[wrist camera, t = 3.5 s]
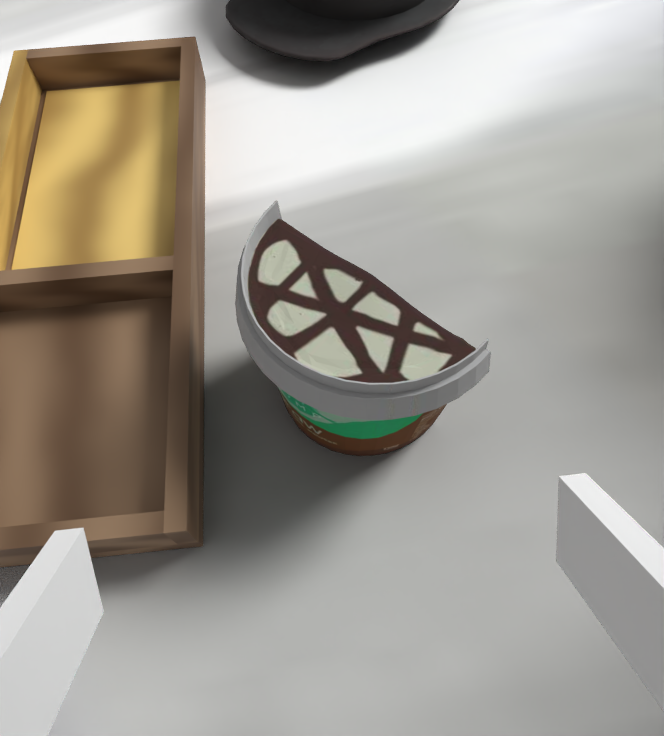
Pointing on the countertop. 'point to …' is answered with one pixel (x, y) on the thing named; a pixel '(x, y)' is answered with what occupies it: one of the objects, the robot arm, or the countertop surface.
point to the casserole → (329, 23)
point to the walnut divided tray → (102, 297)
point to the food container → (345, 344)
